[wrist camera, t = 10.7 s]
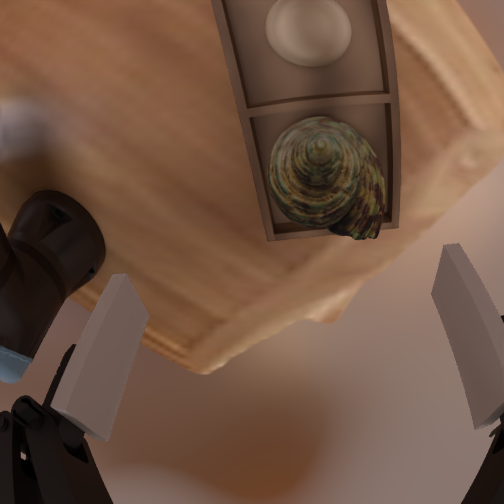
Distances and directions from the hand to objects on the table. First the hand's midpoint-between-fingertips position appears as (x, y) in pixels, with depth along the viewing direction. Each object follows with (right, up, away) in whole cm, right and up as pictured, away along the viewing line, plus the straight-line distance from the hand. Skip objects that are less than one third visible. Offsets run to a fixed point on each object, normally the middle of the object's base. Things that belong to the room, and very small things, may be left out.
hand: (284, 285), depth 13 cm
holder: (+5, +16, +14) cm, 21 cm away
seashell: (+6, +10, +17) cm, 21 cm away
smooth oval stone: (+3, +20, +9) cm, 23 cm away
